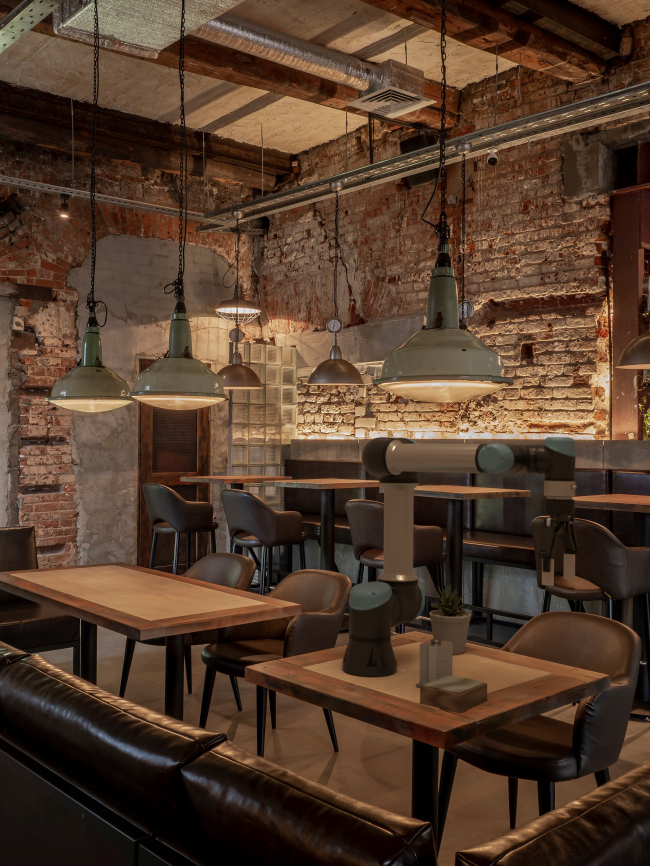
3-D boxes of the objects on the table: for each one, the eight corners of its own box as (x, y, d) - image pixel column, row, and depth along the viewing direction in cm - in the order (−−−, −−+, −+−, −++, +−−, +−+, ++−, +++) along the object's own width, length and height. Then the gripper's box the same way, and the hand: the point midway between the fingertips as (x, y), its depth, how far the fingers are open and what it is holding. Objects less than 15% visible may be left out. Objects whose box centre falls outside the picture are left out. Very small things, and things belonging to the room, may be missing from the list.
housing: (415, 687, 205) (416, 641, 205) (434, 680, 212) (435, 635, 212) (437, 692, 201) (437, 645, 201) (455, 684, 208) (456, 638, 208)
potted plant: (481, 651, 244) (481, 585, 244) (454, 659, 234) (454, 590, 235) (447, 644, 253) (448, 580, 253) (420, 651, 243) (421, 585, 244)
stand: (420, 703, 191) (420, 684, 191) (447, 691, 201) (447, 673, 201) (460, 713, 184) (460, 693, 184) (487, 700, 194) (487, 682, 194)
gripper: (554, 500, 190) (553, 589, 189) (592, 497, 209) (591, 578, 208) (524, 498, 194) (523, 586, 194) (564, 496, 214) (563, 575, 213)
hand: (558, 582), depth 201 cm, fingers open, 13 cm apart
